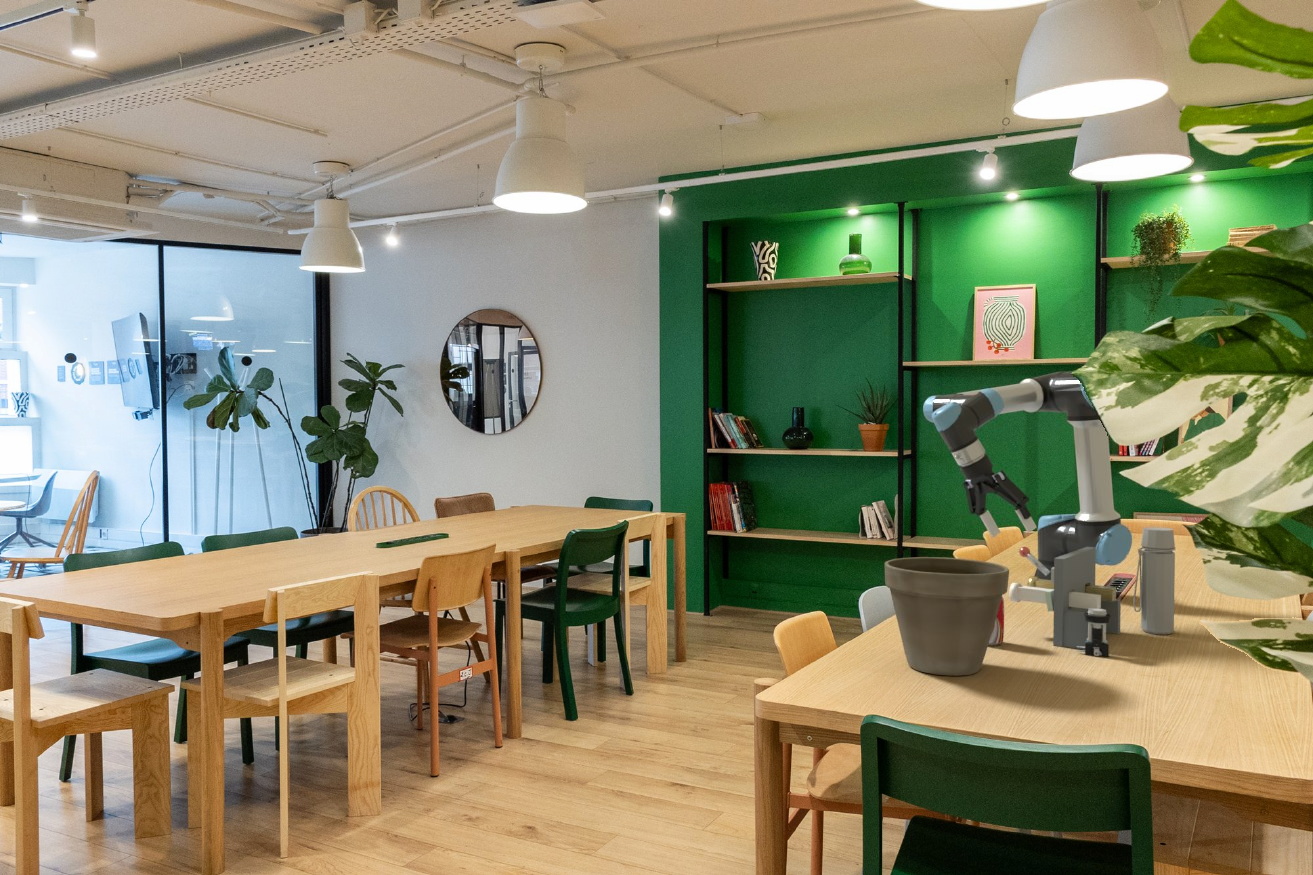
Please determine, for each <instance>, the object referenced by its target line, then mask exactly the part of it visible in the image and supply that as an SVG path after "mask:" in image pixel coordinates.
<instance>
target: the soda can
mask: <svg viewBox="0 0 1313 875" xmlns="http://www.w3.org/2000/svg"><path fill="white" fill-rule="evenodd" d="M1004 635H1005V601H1004V597H1003V596H1002V598H1001V603H1000V606H999V610H998V614H997V617H996V620H995V624H994V627H993V630H992V634H991V637H990V640H989V644H988V646H994V647H995V646H998V645H1000V644H1002V643H1003V641H1004Z"/></svg>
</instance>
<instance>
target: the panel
mask: <svg viewBox="0 0 1313 875" xmlns="http://www.w3.org/2000/svg"><path fill="white" fill-rule="evenodd" d="M1096 565H1097V564H1096V547H1085V548H1082V549H1079V550H1076V551H1074V552H1071V553H1068V554H1065V555H1062V556H1059V557H1056V558H1054V567H1053V568H1051V582H1054V611H1053V629H1052V630H1053V636H1052V638H1053V639H1052V641H1053V644H1052V646H1053V647H1061V648H1063V647H1064V648H1069V649H1077V650H1082V651H1085V648H1080V647H1077V646H1083V647H1085V642H1086V641H1087V639H1088V621H1086V620H1085V615H1084V613H1085V612H1088V609H1084V608H1076V607H1069V591H1072V592H1080V593H1085V584H1089V585H1096ZM1121 600H1122V599H1117V598H1116V600H1115V601H1113V602H1108V601H1101V608H1100V609H1105V610H1106V613H1107V614H1110V615H1111V617H1110V618H1109V622H1108V623H1106V634H1107V633H1108V634H1115V635H1118V634H1120V633H1121V612H1122V611H1121V610H1122V608H1121V607H1122V606H1121V603H1122V602H1121ZM1092 627H1093V624H1091V641H1089V642H1092ZM1101 628H1102V633H1103V625H1101Z"/></svg>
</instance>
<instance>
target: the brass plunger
mask: <svg viewBox="0 0 1313 875" xmlns="http://www.w3.org/2000/svg"><path fill="white" fill-rule="evenodd" d="M1026 584H1027V585H1026V586H1029V587H1037V588H1046V589H1054V582H1051V580H1044V579H1039V577H1034V575H1033V576H1032V575H1031V576H1029V577H1028V580H1027V583H1026ZM1085 593H1089V594H1097V595H1101V601H1108V602H1113V601H1115V600H1116V599H1117V587H1116V586H1115V587H1114V586H1105V585H1096V584H1095V585H1089V584H1085Z"/></svg>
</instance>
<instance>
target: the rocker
mask: <svg viewBox="0 0 1313 875" xmlns="http://www.w3.org/2000/svg"><path fill="white" fill-rule="evenodd" d="M1045 596H1046V602H1047V604H1046V607H1047V612H1054V590H1052V591H1047V592H1045Z"/></svg>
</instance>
